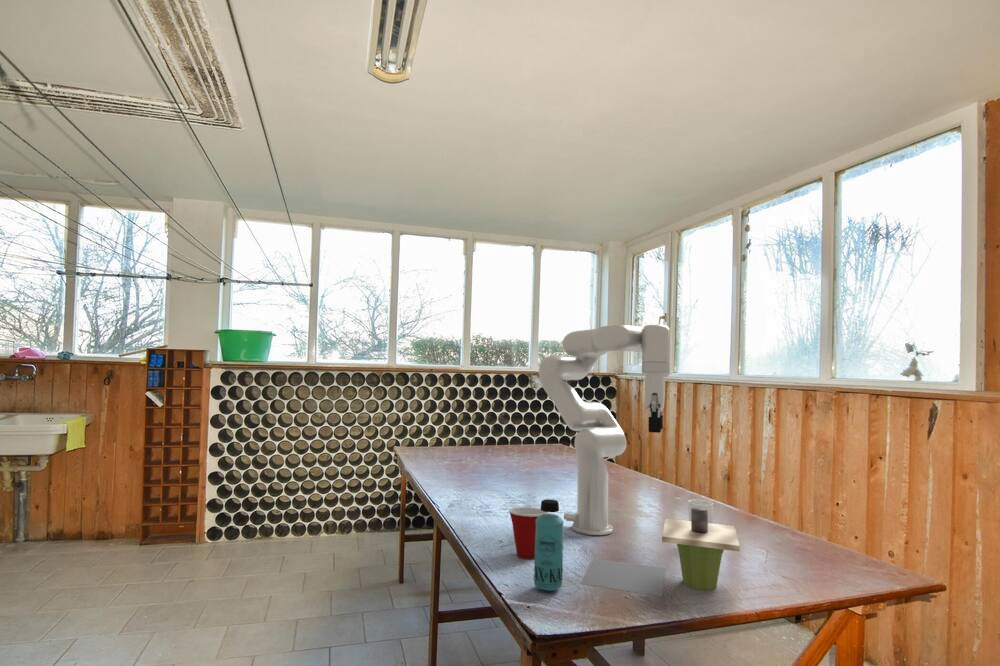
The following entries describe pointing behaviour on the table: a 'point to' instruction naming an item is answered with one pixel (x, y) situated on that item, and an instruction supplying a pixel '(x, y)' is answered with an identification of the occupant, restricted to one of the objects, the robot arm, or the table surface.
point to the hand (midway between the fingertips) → (655, 430)
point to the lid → (700, 532)
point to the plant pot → (700, 566)
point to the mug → (701, 504)
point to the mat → (625, 577)
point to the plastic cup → (525, 530)
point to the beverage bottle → (548, 548)
